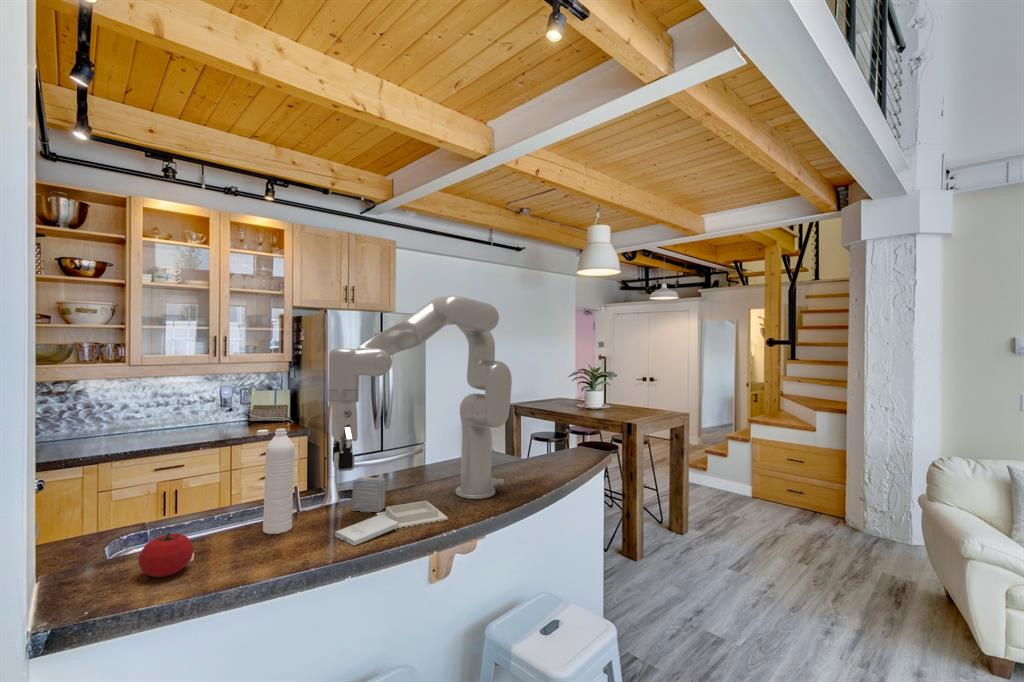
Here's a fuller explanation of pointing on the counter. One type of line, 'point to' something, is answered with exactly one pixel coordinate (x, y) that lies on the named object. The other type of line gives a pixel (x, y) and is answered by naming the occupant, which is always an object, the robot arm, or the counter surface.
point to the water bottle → (278, 483)
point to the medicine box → (368, 494)
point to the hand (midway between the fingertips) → (342, 464)
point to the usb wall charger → (336, 462)
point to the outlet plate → (413, 514)
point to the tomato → (165, 555)
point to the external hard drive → (366, 529)
